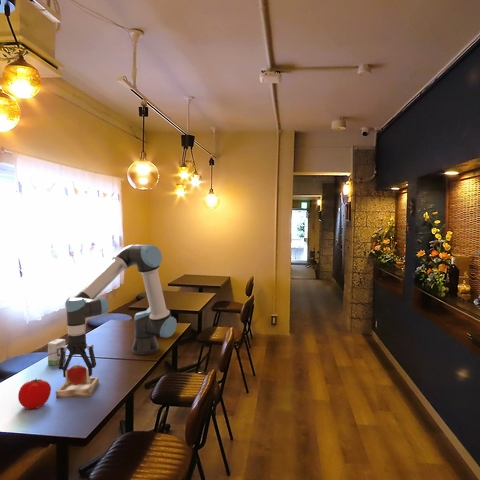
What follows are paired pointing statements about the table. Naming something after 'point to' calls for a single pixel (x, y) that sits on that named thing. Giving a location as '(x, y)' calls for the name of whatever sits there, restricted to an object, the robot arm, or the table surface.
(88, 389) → the tray
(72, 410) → the table surface
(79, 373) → the apple
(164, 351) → the table surface
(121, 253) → the robot arm
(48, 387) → the tomato
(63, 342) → the ink box
